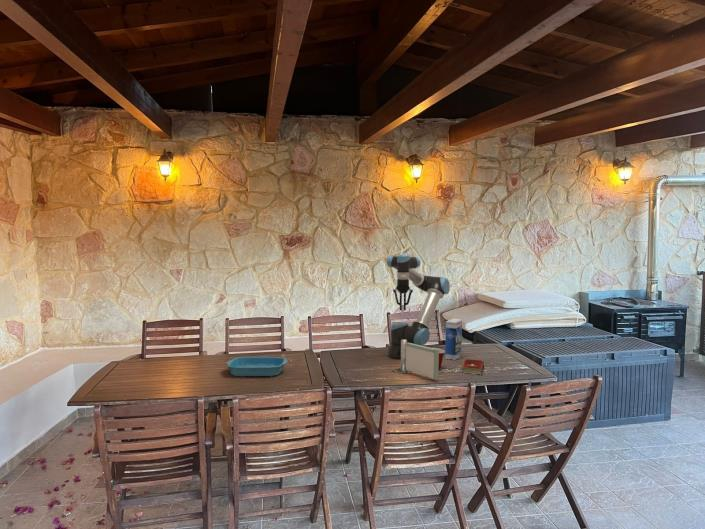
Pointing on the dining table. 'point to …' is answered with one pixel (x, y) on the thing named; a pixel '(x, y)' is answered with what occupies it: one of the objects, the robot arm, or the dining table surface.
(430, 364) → the beige panel
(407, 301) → the robot arm
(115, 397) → the dining table surface
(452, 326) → the string lights box
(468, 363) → the hardcover book
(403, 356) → the post
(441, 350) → the plastic cup
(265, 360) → the casserole dish
